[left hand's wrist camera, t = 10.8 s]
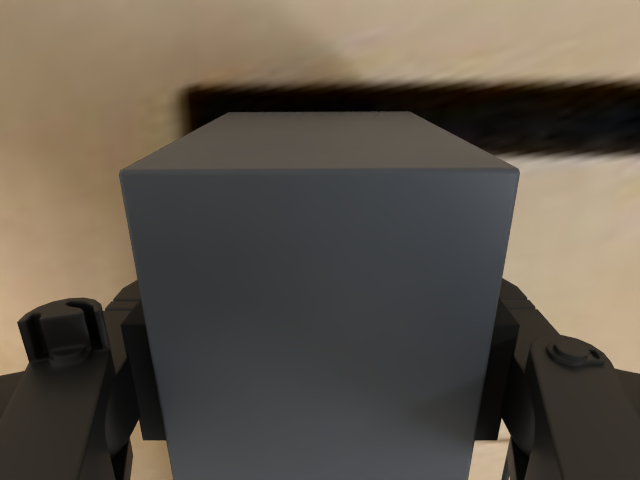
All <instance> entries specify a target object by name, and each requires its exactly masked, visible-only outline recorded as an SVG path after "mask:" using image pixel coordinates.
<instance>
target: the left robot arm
mask: <svg viewBox="0 0 640 480" xmlns="http://www.w3.org/2000/svg"><path fill="white" fill-rule="evenodd" d="M17 323H18V326H19V330H20V333H21V336H22V340H23V343H24V346H25V350H26V353H27V356H28V360H29V364H28V366H27V368H26V370H25V371H22V372H18V373H12V374H7V375H2V376H0V480H130V476H131V468H132V460H133V453H132V446H131V442H130V436H131V434H132V432H133V430H134V428H135V426H136V424H137V422H138V420H139V422H140V427H141V432H142V437H143V440H166V435H165V430H164V424H163V418H162V413H161V407H160V402H159V396H158V390H157V385H156V379H155V374H154V368H153V362H152V357H151V351H150V346H149V340H148V334H147V329H146V323H145V318H144V312H143V306H142V301H141V295H140V289H139V284H138V280H136V281H135V282H133V283H131V284H130V285H128V286H126V287H124V288H123V289H122V290H121V291H120V292H119V294H118V295H117V296H116V297H115V298H114V299H113V302H111V303H110V304H109V305H108V306H107V307H106V308H105V311H103V310H102V306H101V304H100V303H99V302H97V301H96V300H93V299H88V298H68V299H64V300H59V301H54V302H51V303H48V304H45V305H42V306H40V307H37V308H36V309H34V310H32V311H30V312H28V313H27V314H25V315H24V316H23V317H22V318H21V319H20V320H19V321H18V322H17ZM501 418H502V419H503V421H504V423H505V425H506V427H507V429H508V431H509V433H510V435H511V437H510V442H509V446H508V451H507V456H506V460H505V465H504V470H503V474H502V480H508V479H509V476H510V480H640V374H638V373H633V372H628V371H622V370H618V369H614V367H613V365H612V363H611V361H610V360H609V359H608V358H607V357H606V355H605V354H604V353H603V352H601V351H600V350H598V349H597V348H595V347H594V346H592V345H591V344H588V343H586V342H583V341H581V340H579V339H576V338H572V337H567V336H563V335H560V334H559V333H558V332H557V331H556V330H555V329H554V328H553V326H552V325H551V324H550V323H549V322H548V321H547V320H546V318H545V317H544V316H543V315H542V314H541V313H540V312H539V311H538V309H535V306H534V305H533V304H532V303H531V302H530V300H527V297H526V296H525V295H524V294H523V293H522V291H521V290H520V289H519V288H518V287H517V286H515V285H513V284H512V283H510V282H508V281H507V280H505V279H503V278H502V281H501V287H500V293H499V299H498V305H497V311H496V317H495V322H494V328H493V334H492V340H491V346H490V352H489V358H488V364H487V370H486V376H485V381H484V387H483V393H482V399H481V405H480V411H479V417H478V423H477V429H476V434H475V440H497V438H498V433H499V428H500V423H501Z"/></svg>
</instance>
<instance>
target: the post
mask: <svg viewBox="0 0 640 480" xmlns="http://www.w3.org/2000/svg"><path fill="white" fill-rule="evenodd" d="M519 175H520V172H519V169H518V168H516V167H514V166H512V165H510V164H508V163H506V162H505V161H503V160H501V159H499V158H497V157H495V156H493V155H491V154H489V153H487V152H486V151H484V150H482V149H480V148H478V147H476V146H474V145H472V144H470V143H468V142H466V141H465V140H463V139H461V138H459V137H457V136H455V135H453V134H451V133H449V132H447V131H446V130H444V129H442V128H440V127H438V126H436V125H434V124H432V123H430V122H428V121H426V120H425V119H423V118H421V117H419V116H417V115H415V114H413V113H411V112H229V113H226V114H225V115H223V116H221V117H219V118H217V119H215V120H213V121H212V122H210V123H208V124H206V125H204V126H202V127H200V128H199V129H197V130H195V131H193V132H191V133H189V134H187V135H185V136H184V137H182V138H180V139H178V140H176V141H174V142H172V143H171V144H169V145H167V146H165V147H163V148H161V149H159V150H158V151H156V152H154V153H152V154H150V155H148V156H146V157H145V158H143V159H141V160H139V161H137V162H135V163H133V164H132V165H130V166H128V167H126V168H124V169H122V170H120V173H119V177H120V183H121V189H122V194H123V200H124V205H125V211H126V217H127V222H128V228H129V233H130V239H131V245H132V250H133V256H134V261H135V267H136V273H137V278H138V284H139V289H140V295H141V301H142V306H143V312H144V318H145V323H146V329H147V334H148V340H149V346H150V351H151V357H152V362H153V368H154V374H155V379H156V385H157V390H158V396H159V402H160V407H161V413H162V418H163V424H164V430H165V435H166V441H167V447H168V452H169V458H170V463H171V469H172V475H173V480H468V476H469V470H470V464H471V458H472V452H473V446H474V440H475V434H476V429H477V423H478V417H479V411H480V405H481V399H482V393H483V387H484V381H485V376H486V370H487V364H488V358H489V352H490V346H491V340H492V334H493V328H494V322H495V317H496V311H497V305H498V299H499V293H500V287H501V281H502V275H503V269H504V264H505V258H506V252H507V246H508V240H509V234H510V228H511V222H512V216H513V210H514V205H515V199H516V193H517V187H518V181H519Z"/></svg>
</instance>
